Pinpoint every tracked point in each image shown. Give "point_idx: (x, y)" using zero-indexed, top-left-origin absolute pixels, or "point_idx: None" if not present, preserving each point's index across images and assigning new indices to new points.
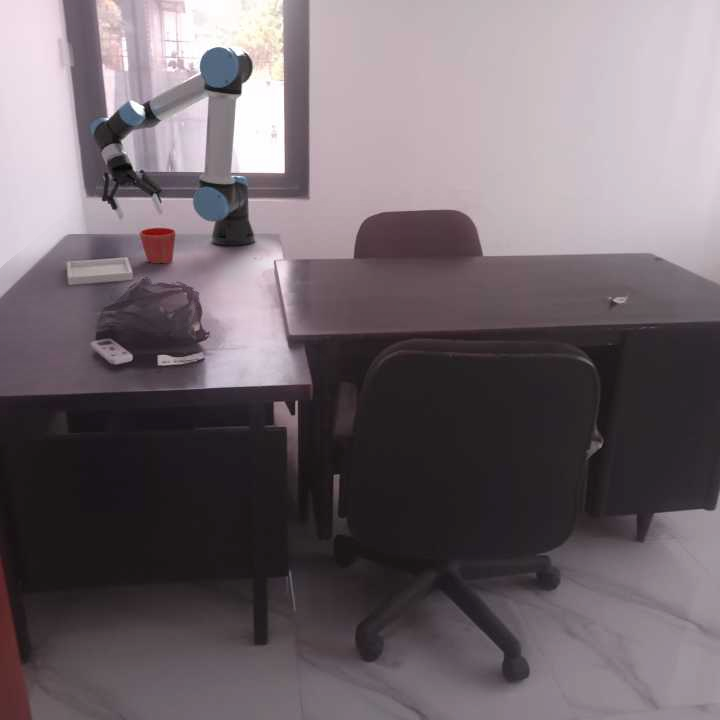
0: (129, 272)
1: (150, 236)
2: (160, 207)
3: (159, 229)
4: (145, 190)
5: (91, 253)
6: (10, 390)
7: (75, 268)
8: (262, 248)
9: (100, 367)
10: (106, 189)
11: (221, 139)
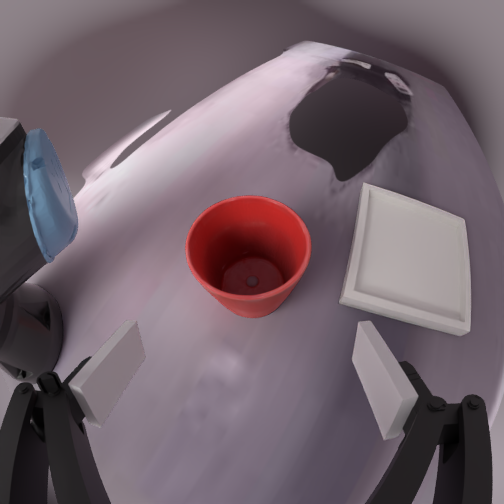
0: (369, 185)
1: (292, 210)
2: (128, 327)
3: (212, 286)
4: (92, 465)
5: (377, 466)
6: (444, 88)
7: (453, 307)
8: None
9: (403, 77)
10: (476, 449)
11: None
